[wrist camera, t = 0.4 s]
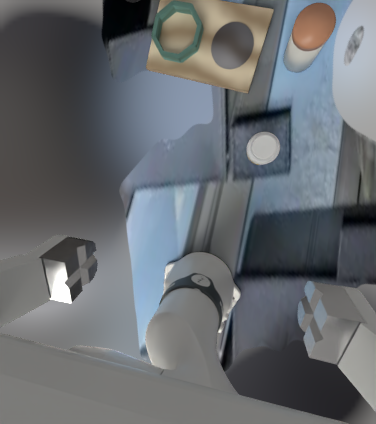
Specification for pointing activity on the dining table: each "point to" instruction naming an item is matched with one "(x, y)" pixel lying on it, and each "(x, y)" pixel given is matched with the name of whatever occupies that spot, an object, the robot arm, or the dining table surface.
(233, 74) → the seat board
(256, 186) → the dining table surface
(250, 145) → the supplement bottle
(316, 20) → the lidded canister
